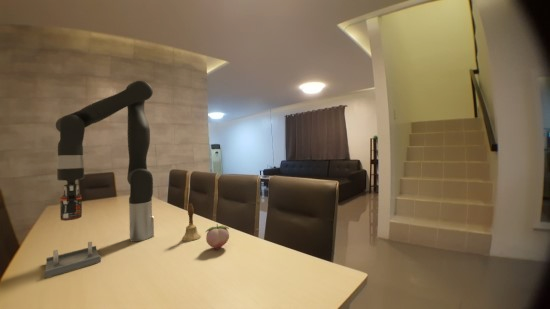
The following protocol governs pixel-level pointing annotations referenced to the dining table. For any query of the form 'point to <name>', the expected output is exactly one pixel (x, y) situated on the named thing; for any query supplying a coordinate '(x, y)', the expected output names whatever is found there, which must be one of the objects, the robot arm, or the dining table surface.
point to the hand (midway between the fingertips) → (71, 210)
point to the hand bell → (191, 227)
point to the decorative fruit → (217, 236)
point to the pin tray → (71, 260)
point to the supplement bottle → (64, 208)
